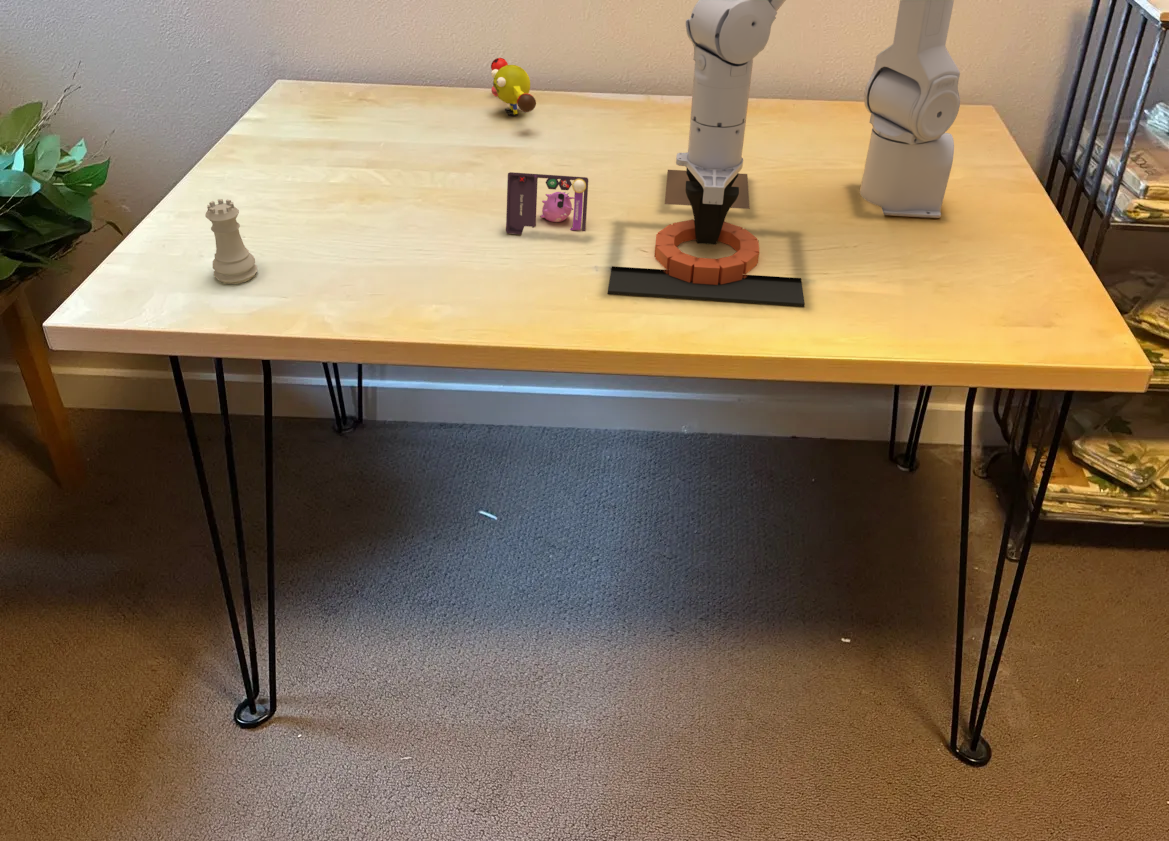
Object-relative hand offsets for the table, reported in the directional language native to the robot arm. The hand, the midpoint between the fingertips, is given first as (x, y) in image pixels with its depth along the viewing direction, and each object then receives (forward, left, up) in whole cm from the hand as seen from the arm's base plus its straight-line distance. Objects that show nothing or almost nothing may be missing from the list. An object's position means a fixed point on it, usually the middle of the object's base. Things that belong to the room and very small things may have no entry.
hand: (706, 236), depth 109 cm
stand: (0, -13, -1) cm, 13 cm away
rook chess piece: (+49, +13, -1) cm, 51 cm away
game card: (+18, -2, -1) cm, 18 cm away
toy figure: (+28, -37, -1) cm, 46 cm away
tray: (0, +4, -1) cm, 5 cm away
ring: (0, +4, 0) cm, 4 cm away
